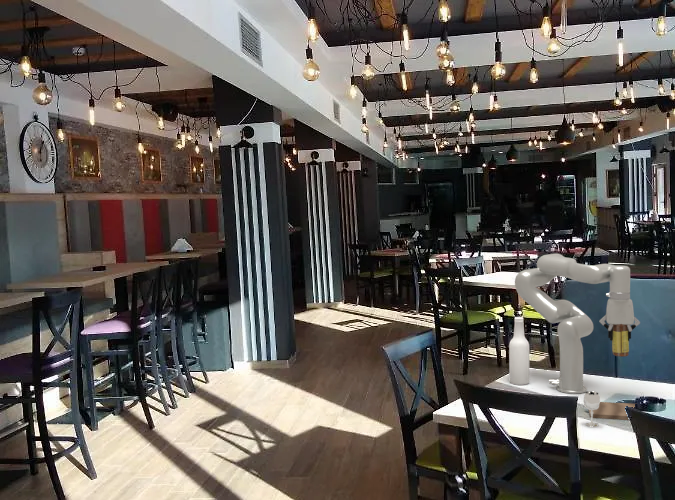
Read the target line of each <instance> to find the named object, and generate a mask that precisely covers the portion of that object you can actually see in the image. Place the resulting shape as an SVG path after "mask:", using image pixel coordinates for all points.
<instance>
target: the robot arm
mask: <svg viewBox="0 0 675 500" xmlns="http://www.w3.org/2000/svg"><path fill="white" fill-rule="evenodd" d="M556 277H563V278H568V279H571V280H573V281H576V282H579V283H583V284H584V283H586V284H591V285H597V284H601V283H607V282H609V292H607V293H606V292H605V296H606V297H608V300H607V302H606V312H605V315H604V316H603V317H602V318H600V319H599V323H600V324H601V325H602V326H603V327H604V328H605V329H607V339H609V341H610V342H611V341H612V327H613V325H617V324H624V325H627V327H628V341H629V342H630V340H631V339H632V331H633V330H634V329H636V327H637V326H639V325H640V324H641V321H640V320H639V319H638V318H637V317H636V316H635V314H634V312H635V311H634V303H633V300H632V299H631V268H630V267H629V266H627V265H616V264H615V265H614V264H609V263H601V264H595V265H589V264H584V263H577V260H576V259H575V258H571V257H565V256H564V255H562V254H561V253H550V254H544V255H542V256H541V255H540V257H539V258H538V260H537V262H536V268H529V269H528V268H527V269H523V270H522V271H519V272H518V273H517V274H516V275H515V278H514V279H515V280H514V287H515V290H516V292H517V295H518V296H519V297H520V298H521V299H522V300H524V302H526V303H527V304H528V305H529V306H530V307H531V308H533V309H534V310H535V311H536V312H537V313H538V314H539V315H540V316H542V318H543V319H544V320H546V321H547V322H548V323H551V324H556V323H557V324H558V325H557V337H558V342H559V377H558V378H556V379H552V378H550V379H548V384H549V385H553V386H554V385H556V386H555V388H556V390H557V391H558V392H560V393H564V394H565V393H566V394H573V395H575V394H585V392H587V391H588V387H587V386H585V385H584V347H583V344H582V340H581V338H584V337H588V336H589V335H591V334H592V332H593V331H594V323H593V321H592V319H591V318H590V317H589V316H588V315H587V314H586V313H585V312H584V311H583V310H581V309H580V308H579V307H577V305H575V304H574V303H573V302H571V301H570V300H567V299H559V300H558V299H557V300H554V299H553V298H551V297H550V296H549V295H548V294H547V293H546V292H545V291H543V290H540V289H539V288H537V287H543V286H545V285H548V283H550V282H551V281H552V280H553V279H555V278H556ZM605 321H606V322H605Z"/></svg>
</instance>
